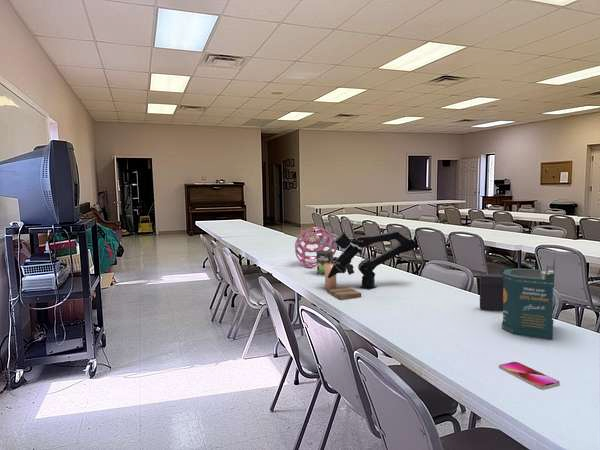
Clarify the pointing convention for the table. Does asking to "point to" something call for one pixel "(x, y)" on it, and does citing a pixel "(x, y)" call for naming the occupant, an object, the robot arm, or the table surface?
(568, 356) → the table surface
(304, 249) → the pink openwork sphere
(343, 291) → the shelf board
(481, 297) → the dark grey block
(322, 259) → the coffee can
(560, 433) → the table surface
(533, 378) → the smartphone
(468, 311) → the table surface
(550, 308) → the donation box
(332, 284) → the peach cylinder
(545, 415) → the table surface
